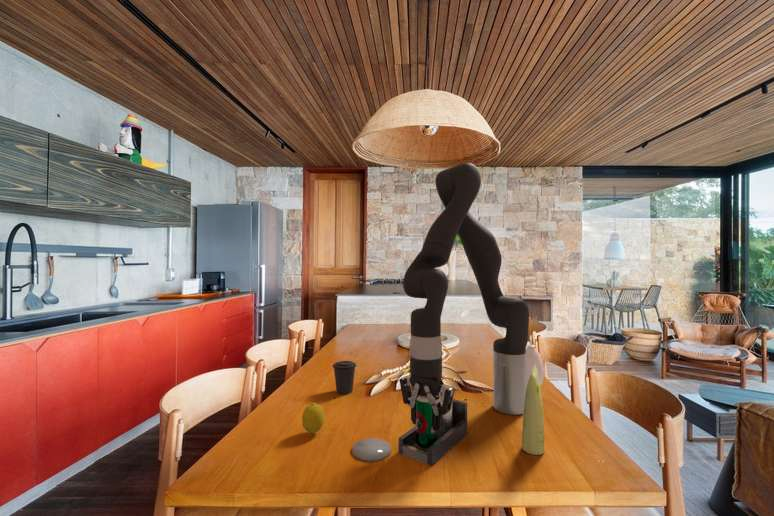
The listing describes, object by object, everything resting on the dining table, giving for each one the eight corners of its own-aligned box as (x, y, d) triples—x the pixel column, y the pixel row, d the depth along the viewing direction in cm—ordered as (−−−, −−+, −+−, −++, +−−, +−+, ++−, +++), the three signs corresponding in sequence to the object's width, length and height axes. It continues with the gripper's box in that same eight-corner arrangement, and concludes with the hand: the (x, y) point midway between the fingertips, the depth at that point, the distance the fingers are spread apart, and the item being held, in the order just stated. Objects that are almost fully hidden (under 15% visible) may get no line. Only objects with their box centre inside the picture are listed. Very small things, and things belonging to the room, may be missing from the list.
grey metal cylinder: (438, 429, 93) (438, 383, 93) (456, 435, 90) (456, 388, 90) (428, 437, 89) (428, 389, 89) (446, 443, 86) (446, 394, 86)
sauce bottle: (515, 389, 122) (514, 337, 122) (525, 384, 127) (525, 334, 127) (537, 396, 116) (537, 341, 116) (547, 390, 121) (547, 337, 121)
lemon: (327, 430, 92) (328, 400, 92) (316, 441, 87) (317, 408, 87) (309, 427, 94) (309, 397, 94) (297, 437, 89) (297, 405, 89)
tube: (551, 455, 81) (551, 370, 81) (531, 458, 79) (531, 371, 80) (535, 443, 86) (535, 362, 86) (517, 445, 85) (516, 364, 85)
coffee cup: (361, 390, 121) (361, 361, 121) (346, 398, 114) (346, 367, 114) (342, 385, 125) (342, 357, 125) (327, 393, 118) (327, 363, 119)
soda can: (436, 452, 80) (436, 398, 80) (414, 449, 81) (414, 397, 81) (438, 440, 85) (437, 390, 85) (417, 438, 86) (416, 389, 86)
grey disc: (369, 437, 89) (369, 434, 89) (398, 448, 84) (398, 446, 84) (344, 452, 82) (344, 449, 82) (374, 466, 76) (374, 463, 76)
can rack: (436, 424, 96) (436, 394, 96) (467, 433, 91) (467, 402, 91) (398, 452, 82) (398, 418, 82) (432, 466, 76) (432, 429, 76)
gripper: (461, 355, 81) (461, 428, 81) (409, 346, 90) (409, 412, 90) (445, 362, 75) (446, 442, 75) (391, 352, 84) (392, 424, 84)
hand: (426, 426), depth 83 cm, fingers closed on soda can, 5 cm apart
